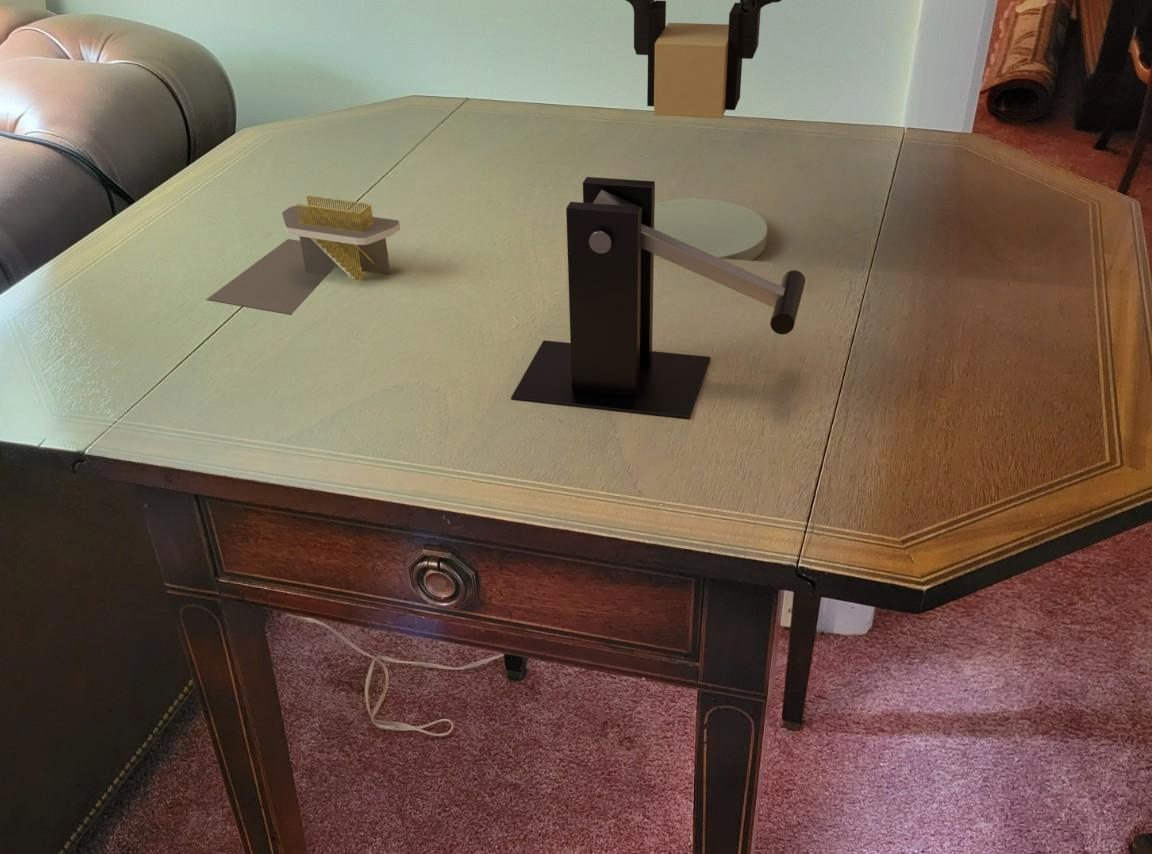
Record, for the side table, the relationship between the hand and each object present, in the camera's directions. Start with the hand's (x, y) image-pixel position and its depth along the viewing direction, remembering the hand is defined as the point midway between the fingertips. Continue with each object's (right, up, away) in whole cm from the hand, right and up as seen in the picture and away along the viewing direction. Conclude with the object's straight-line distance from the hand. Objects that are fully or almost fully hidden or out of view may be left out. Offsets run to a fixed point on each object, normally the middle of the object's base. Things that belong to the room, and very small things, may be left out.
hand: (693, 101), depth 90 cm
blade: (-2, -16, -13) cm, 21 cm away
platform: (-27, -11, +8) cm, 31 cm away
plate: (+1, -7, +11) cm, 13 cm away
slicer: (-6, -22, -7) cm, 24 cm away
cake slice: (0, 0, 0) cm, 0 cm away
